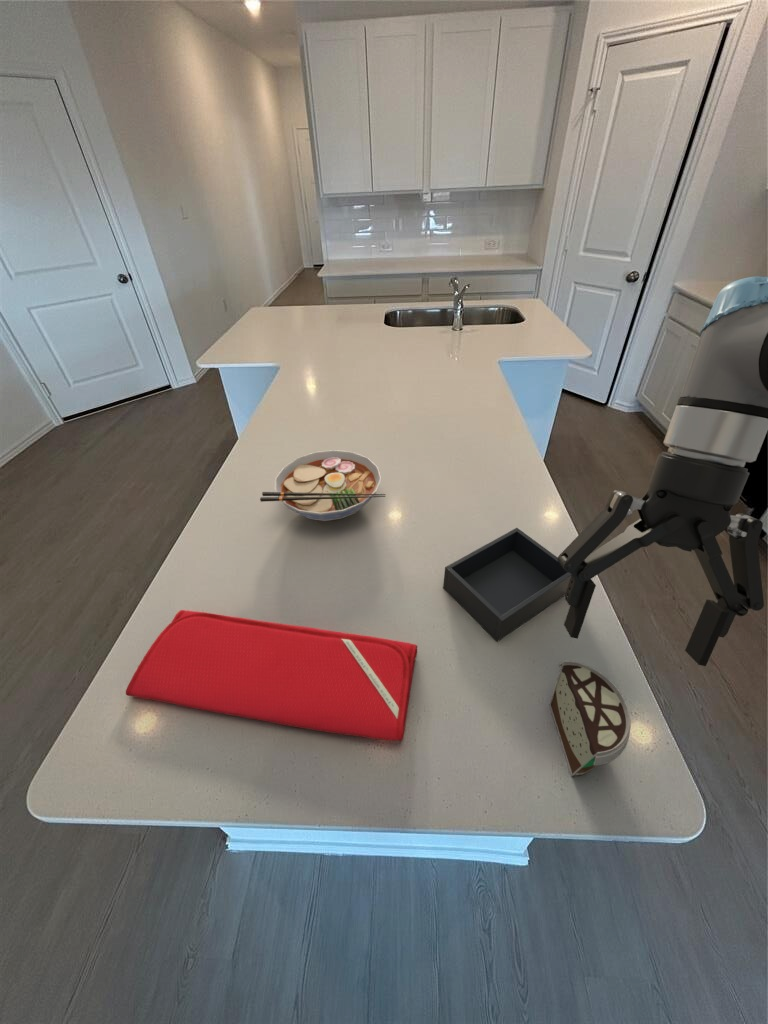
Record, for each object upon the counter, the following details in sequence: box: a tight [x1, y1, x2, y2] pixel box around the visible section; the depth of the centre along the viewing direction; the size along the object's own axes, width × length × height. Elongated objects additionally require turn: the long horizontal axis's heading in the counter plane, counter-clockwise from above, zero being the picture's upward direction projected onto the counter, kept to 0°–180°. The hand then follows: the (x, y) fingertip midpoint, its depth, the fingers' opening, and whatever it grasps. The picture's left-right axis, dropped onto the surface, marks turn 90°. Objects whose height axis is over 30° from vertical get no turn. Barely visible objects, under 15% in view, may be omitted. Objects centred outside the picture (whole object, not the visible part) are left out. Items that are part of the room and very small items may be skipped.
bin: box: [442, 527, 571, 642], centre depth 77 cm, size 14×18×6 cm
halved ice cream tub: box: [548, 660, 632, 778], centre depth 56 cm, size 12×6×10 cm, turn 1°
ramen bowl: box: [259, 449, 386, 522], centre depth 96 cm, size 25×23×8 cm
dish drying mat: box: [125, 609, 418, 742], centre depth 66 cm, size 16×41×4 cm, turn 79°
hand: (632, 645), depth 49 cm, fingers open, 13 cm apart
